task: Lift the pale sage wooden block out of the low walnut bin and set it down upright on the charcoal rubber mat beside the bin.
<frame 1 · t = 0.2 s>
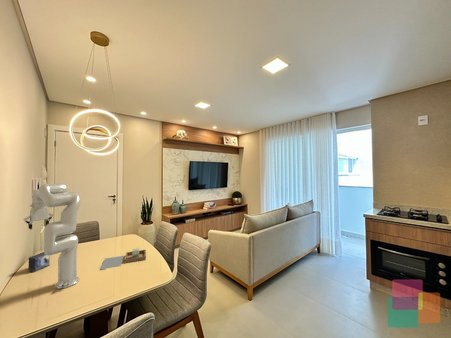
hand: (39, 227, 151), 31 cm above the table, tool pointing down, fingers open, 9 cm apart
small box: (39, 268, 150), on the table
walnut bin: (135, 258, 167), on the table
sage block: (135, 257, 167), resting on walnut bin
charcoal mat: (112, 262, 159), on the table
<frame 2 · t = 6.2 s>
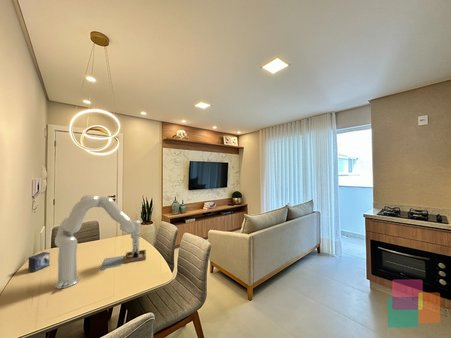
hand: (135, 256, 167), 1 cm above the table, tool pointing down, fingers closed on sage block, 5 cm apart
sage block: (135, 257, 167), point 1 cm above the table, touching gripper, walnut bin
everything else where it was.
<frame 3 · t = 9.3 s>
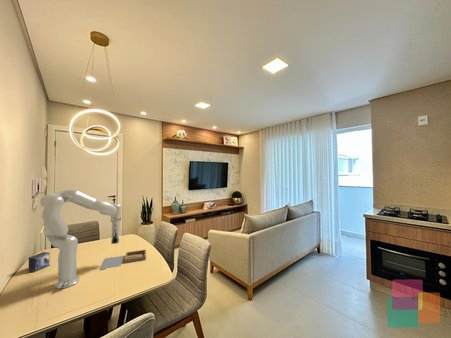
hand: (115, 241, 160), 17 cm above the table, tool pointing down, fingers closed on sage block, 5 cm apart
sage block: (115, 242, 160), point 16 cm above the table, touching gripper
everything else where it was.
when the fingers open (3 cm above the table, at t = 12.7 s): sage block drops 1 cm, resting on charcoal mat.
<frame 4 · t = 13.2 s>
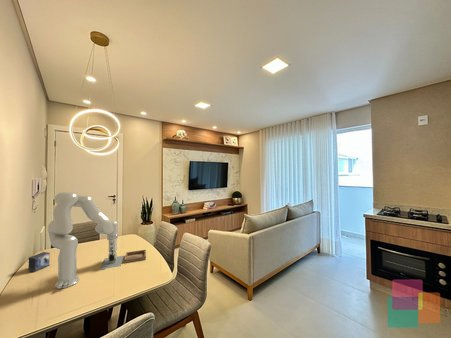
hand: (112, 257, 159), 4 cm above the table, tool pointing down, fingers open, 9 cm apart
sage block: (112, 262, 159), resting on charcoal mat
everything else where it was.
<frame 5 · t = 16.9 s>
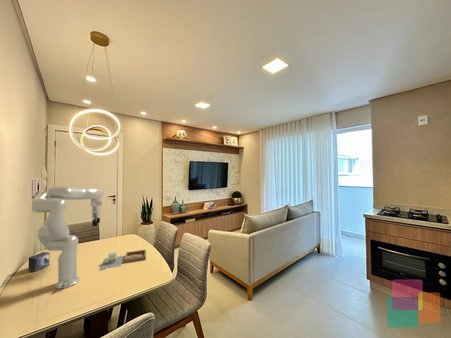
hand: (96, 224, 162), 30 cm above the table, tool pointing down, fingers open, 9 cm apart
nothing on the table moved.
at the end: sage block inside the target area on the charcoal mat (0.1 cm from its centre), point 0.5 cm above the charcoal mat's base; sage block tilted 0°; the gripper is holding nothing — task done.
